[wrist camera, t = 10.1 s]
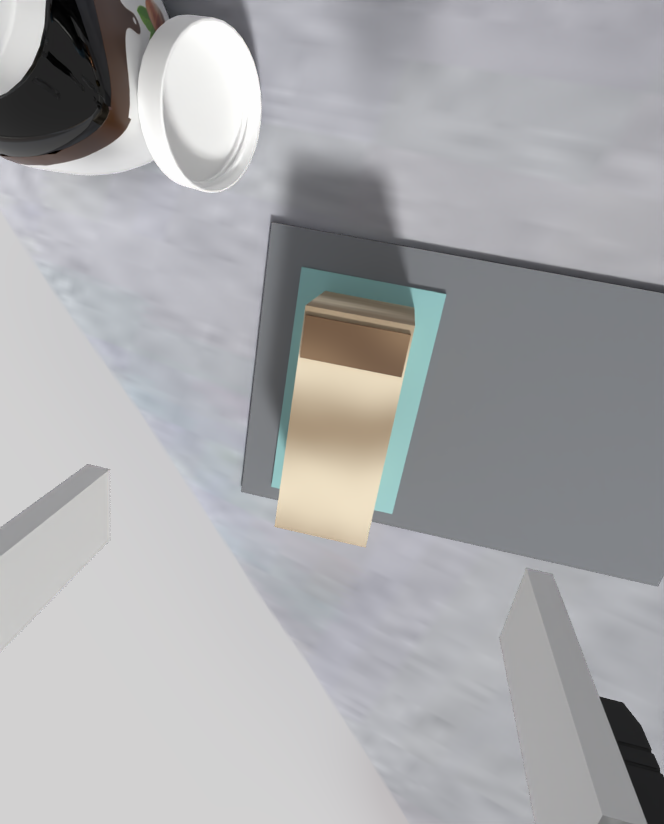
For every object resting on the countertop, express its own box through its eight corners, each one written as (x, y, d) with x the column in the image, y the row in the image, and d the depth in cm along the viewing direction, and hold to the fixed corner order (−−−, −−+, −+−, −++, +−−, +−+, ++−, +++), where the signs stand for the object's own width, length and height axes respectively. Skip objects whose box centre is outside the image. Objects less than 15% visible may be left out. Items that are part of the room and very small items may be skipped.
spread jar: (19, -20, 25) (-277, -205, 14) (227, -99, 23) (61, -391, 12) (102, 229, 29) (-84, 230, 18) (287, 183, 27) (202, 153, 16)
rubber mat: (273, 222, 27) (271, 222, 27) (791, 316, 25) (795, 317, 25) (242, 489, 33) (241, 491, 33) (655, 583, 31) (658, 586, 31)
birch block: (373, 495, 32) (365, 549, 26) (296, 479, 32) (273, 528, 27) (414, 307, 27) (415, 326, 22) (325, 290, 28) (304, 305, 22)
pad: (302, 266, 28) (301, 267, 27) (446, 293, 27) (446, 294, 27) (271, 485, 33) (271, 486, 32) (392, 512, 32) (392, 514, 32)
